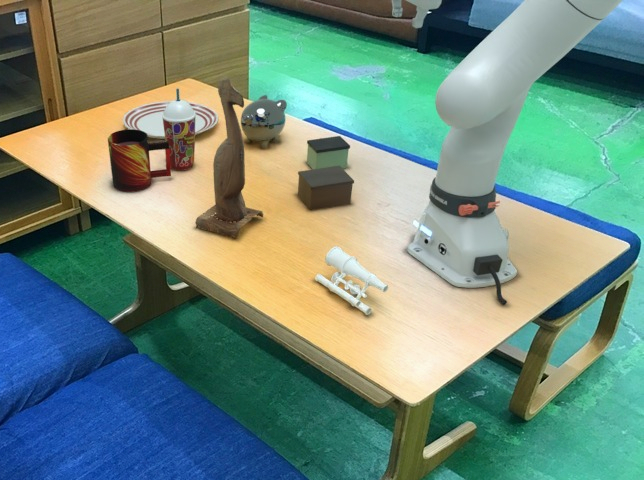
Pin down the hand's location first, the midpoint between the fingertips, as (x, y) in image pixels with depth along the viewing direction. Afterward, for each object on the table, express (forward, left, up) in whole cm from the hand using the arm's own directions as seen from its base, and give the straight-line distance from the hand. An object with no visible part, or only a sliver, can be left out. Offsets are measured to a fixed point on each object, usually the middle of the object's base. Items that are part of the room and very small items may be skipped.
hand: (406, 21), depth 151 cm
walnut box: (-13, +22, -34) cm, 43 cm away
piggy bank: (+23, +25, -34) cm, 48 cm away
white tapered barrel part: (-50, +32, -34) cm, 69 cm away
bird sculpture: (-17, +46, -34) cm, 60 cm away
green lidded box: (+4, +14, -34) cm, 37 cm away
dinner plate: (+41, +47, -34) cm, 71 cm away
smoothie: (+15, +50, -34) cm, 62 cm away
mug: (+10, +62, -34) cm, 72 cm away
